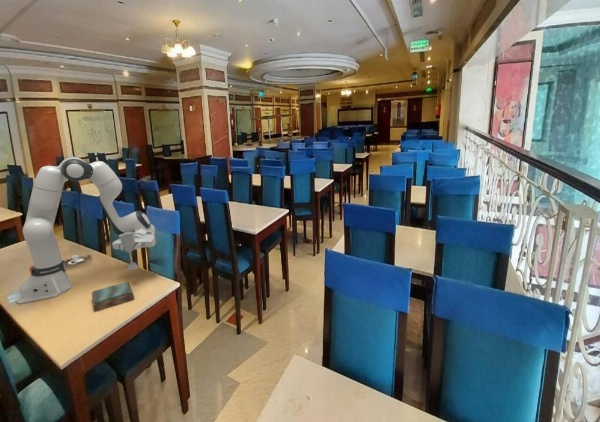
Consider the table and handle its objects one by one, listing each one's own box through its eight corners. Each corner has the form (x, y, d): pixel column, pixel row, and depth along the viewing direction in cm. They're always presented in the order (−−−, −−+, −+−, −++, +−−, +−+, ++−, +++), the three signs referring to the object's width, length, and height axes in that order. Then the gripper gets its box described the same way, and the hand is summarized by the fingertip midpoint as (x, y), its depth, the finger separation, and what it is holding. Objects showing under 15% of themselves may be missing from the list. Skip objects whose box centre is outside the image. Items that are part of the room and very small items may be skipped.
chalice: (133, 271, 160) (127, 237, 155) (121, 270, 161) (115, 237, 156) (143, 264, 167) (137, 232, 162) (131, 264, 168) (125, 232, 163)
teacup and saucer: (84, 263, 195) (82, 256, 194) (68, 266, 191) (66, 260, 190) (83, 258, 202) (82, 252, 201) (68, 261, 198) (67, 255, 197)
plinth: (94, 311, 142) (93, 303, 141) (92, 298, 153) (91, 291, 152) (134, 299, 151) (132, 292, 150) (129, 287, 162) (128, 280, 161)
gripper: (118, 234, 172) (105, 244, 159) (157, 232, 174) (148, 241, 160) (120, 245, 174) (108, 255, 160) (158, 243, 175) (150, 253, 162)
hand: (128, 248), depth 160 cm, fingers closed on chalice, 5 cm apart
